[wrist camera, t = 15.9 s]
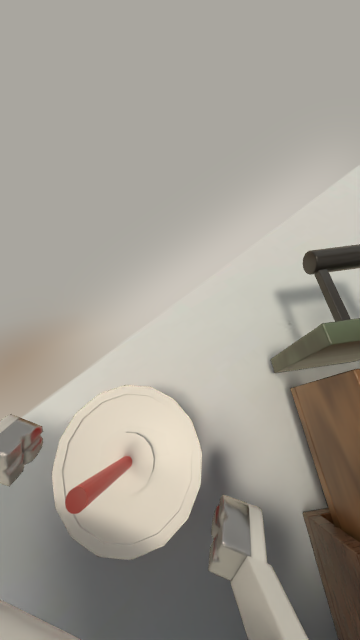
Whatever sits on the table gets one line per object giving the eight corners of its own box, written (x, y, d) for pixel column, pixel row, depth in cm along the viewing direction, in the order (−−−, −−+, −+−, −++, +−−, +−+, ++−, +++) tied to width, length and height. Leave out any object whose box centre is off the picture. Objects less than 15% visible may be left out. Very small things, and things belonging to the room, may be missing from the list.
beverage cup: (112, 405, 19) (-40, 374, 6) (187, 395, 19) (196, 343, 6) (113, 497, 16) (-134, 773, 4) (199, 484, 17) (255, 696, 4)
